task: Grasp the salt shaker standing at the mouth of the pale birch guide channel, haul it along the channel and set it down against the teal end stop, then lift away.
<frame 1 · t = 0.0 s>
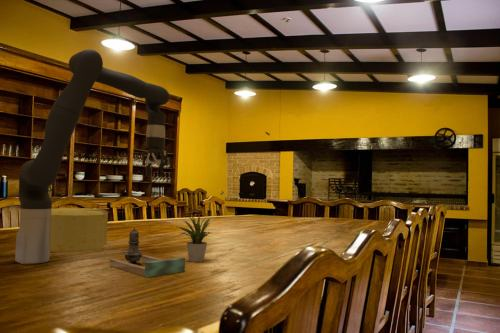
hand: (154, 176, 172), 29 cm above the table, fingers open, 8 cm apart
house plant: (197, 260, 149), on the table
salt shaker: (132, 265, 137), on the table
cheese: (74, 247, 171), on the table
guide channel: (144, 268, 132), on the table
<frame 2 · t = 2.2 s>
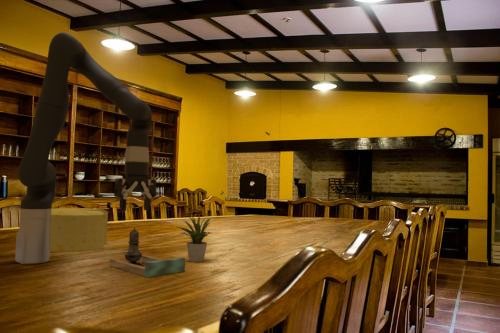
hand: (135, 210, 138), 18 cm above the table, fingers open, 8 cm apart
nothing on the table moved.
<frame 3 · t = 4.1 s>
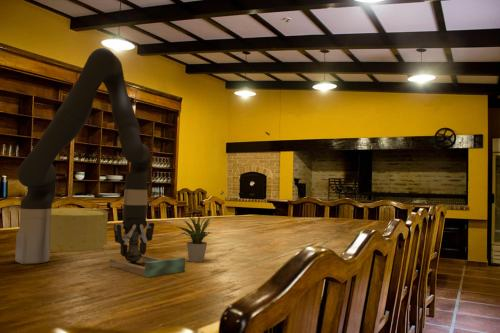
hand: (133, 255, 137), 3 cm above the table, fingers closed on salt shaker, 6 cm apart
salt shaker: (132, 265, 137), on the table, touching gripper
everything else where it was.
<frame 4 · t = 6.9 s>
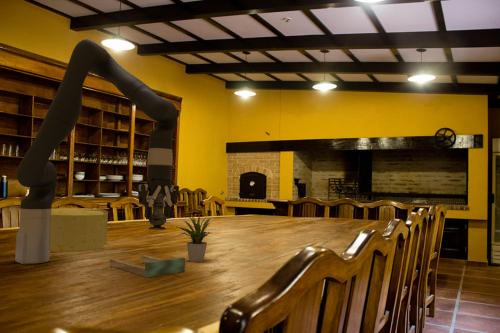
hand: (157, 218, 129), 16 cm above the table, fingers closed on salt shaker, 6 cm apart
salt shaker: (157, 229, 129), point 13 cm above the table, touching gripper
everything else where it was.
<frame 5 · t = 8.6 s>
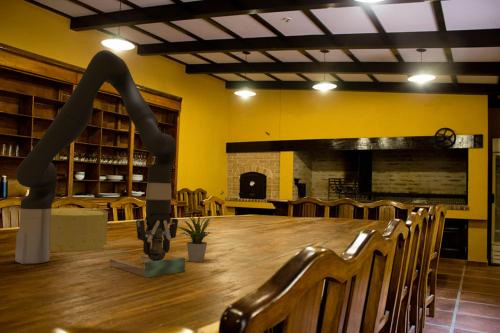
hand: (156, 253, 128), 5 cm above the table, fingers closed on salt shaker, 6 cm apart
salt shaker: (156, 264, 128), point 2 cm above the table, touching gripper
everything else where it was.
when the fingers open (4 cm above the table, at t = 9.8 s): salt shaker drops 1 cm, on the table.
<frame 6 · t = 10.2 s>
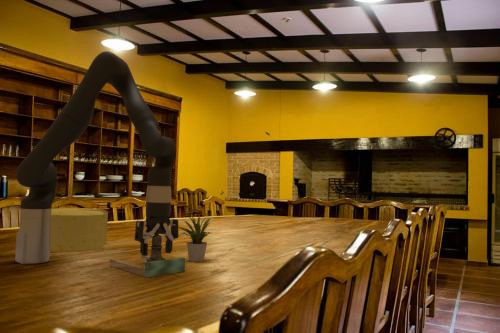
hand: (156, 254, 128), 5 cm above the table, fingers open, 8 cm apart
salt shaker: (155, 271, 128), on the table
everything else where it was.
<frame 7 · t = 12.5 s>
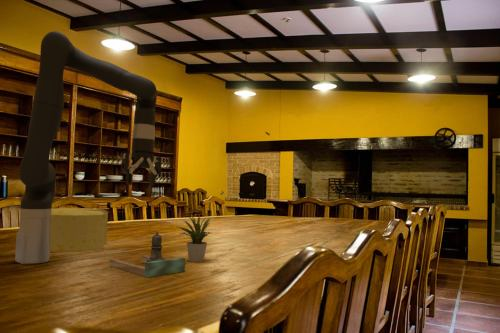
hand: (140, 185, 145), 26 cm above the table, fingers open, 8 cm apart
nothing on the table moved.
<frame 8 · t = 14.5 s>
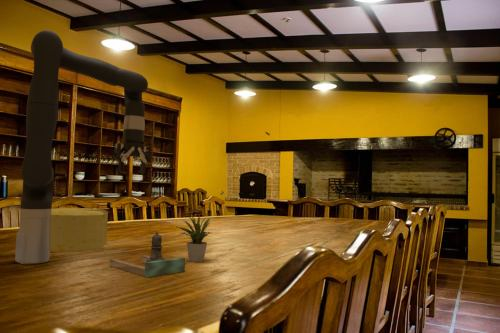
hand: (132, 173, 155), 30 cm above the table, fingers open, 8 cm apart
nothing on the table moved.
at the end: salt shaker inside the target area (0.1 cm from its centre), on the table; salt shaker tilted 0°; the gripper is holding nothing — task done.
